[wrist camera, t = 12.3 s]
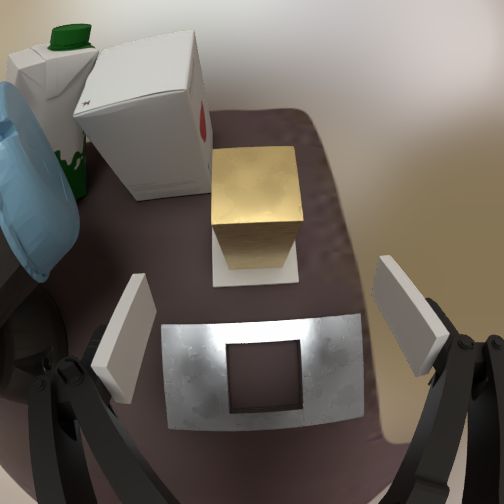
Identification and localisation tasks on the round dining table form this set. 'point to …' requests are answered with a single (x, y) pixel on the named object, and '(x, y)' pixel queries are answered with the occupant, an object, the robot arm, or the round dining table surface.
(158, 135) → the supplement box
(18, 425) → the round dining table surface
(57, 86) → the milk carton
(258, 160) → the gold metal column
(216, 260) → the mat
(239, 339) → the grey metal slotted plate
